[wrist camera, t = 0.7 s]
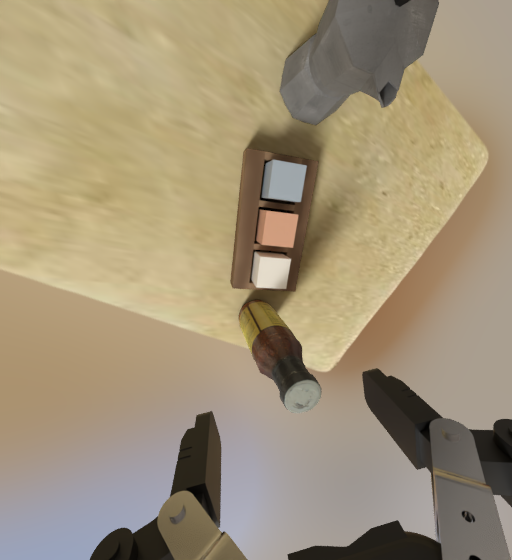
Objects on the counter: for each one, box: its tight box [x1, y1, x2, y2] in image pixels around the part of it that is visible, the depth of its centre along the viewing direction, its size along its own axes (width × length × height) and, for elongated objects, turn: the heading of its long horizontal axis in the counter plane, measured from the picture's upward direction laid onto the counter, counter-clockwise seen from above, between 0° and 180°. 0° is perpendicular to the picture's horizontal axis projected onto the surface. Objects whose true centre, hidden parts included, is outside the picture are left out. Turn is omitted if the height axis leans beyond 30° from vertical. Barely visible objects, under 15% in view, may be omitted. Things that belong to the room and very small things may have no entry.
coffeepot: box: [280, 0, 439, 125], centre depth 25 cm, size 15×9×18 cm, turn 11°
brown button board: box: [231, 148, 319, 291], centre depth 37 cm, size 10×19×3 cm, turn 172°
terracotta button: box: [256, 210, 298, 248], centre depth 35 cm, size 4×4×4 cm
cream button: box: [251, 251, 291, 289], centre depth 36 cm, size 4×4×4 cm
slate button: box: [261, 160, 307, 202], centre depth 33 cm, size 4×4×4 cm
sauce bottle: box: [239, 300, 321, 413], centre depth 33 cm, size 7×6×20 cm
